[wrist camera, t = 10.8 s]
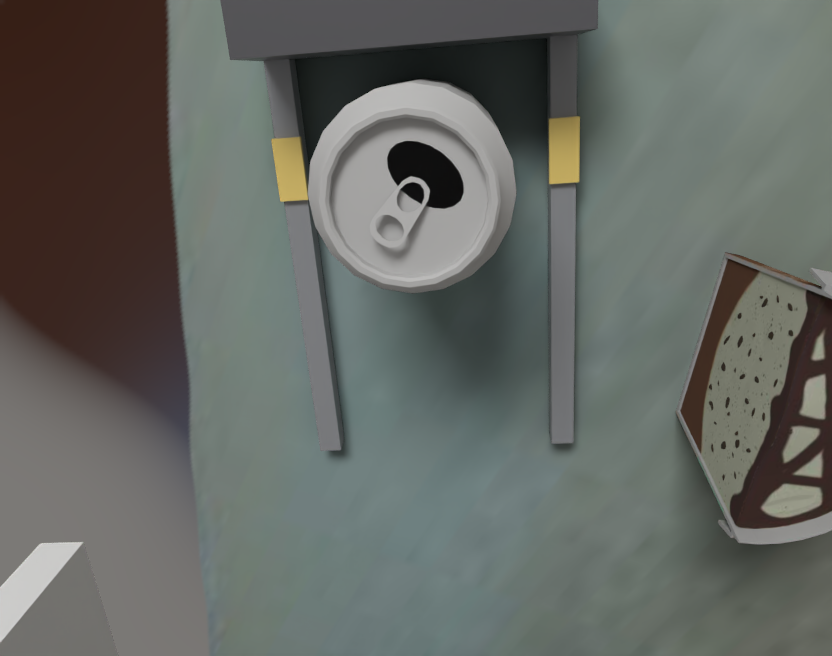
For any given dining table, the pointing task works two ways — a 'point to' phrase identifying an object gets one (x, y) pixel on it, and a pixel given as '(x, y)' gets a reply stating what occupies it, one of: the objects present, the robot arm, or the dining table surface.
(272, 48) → the guide channel
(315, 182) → the can
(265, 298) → the dining table surface
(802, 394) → the food container
